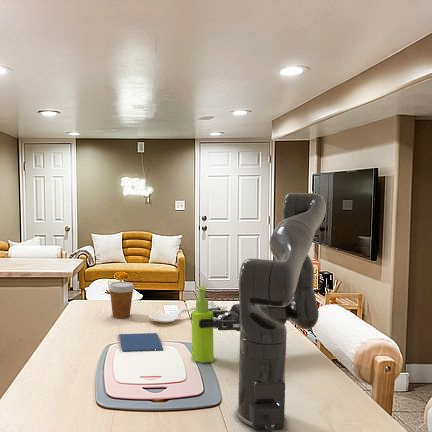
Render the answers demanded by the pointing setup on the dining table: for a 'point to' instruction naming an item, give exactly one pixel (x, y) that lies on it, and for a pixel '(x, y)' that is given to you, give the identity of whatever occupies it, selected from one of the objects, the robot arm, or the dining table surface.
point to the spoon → (177, 314)
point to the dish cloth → (140, 342)
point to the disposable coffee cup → (121, 298)
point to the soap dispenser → (202, 330)
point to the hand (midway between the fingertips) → (195, 320)
